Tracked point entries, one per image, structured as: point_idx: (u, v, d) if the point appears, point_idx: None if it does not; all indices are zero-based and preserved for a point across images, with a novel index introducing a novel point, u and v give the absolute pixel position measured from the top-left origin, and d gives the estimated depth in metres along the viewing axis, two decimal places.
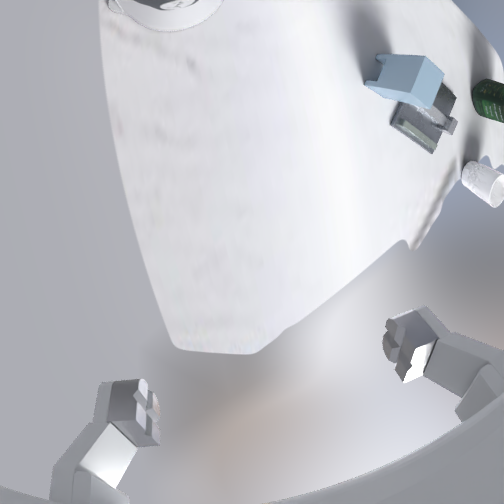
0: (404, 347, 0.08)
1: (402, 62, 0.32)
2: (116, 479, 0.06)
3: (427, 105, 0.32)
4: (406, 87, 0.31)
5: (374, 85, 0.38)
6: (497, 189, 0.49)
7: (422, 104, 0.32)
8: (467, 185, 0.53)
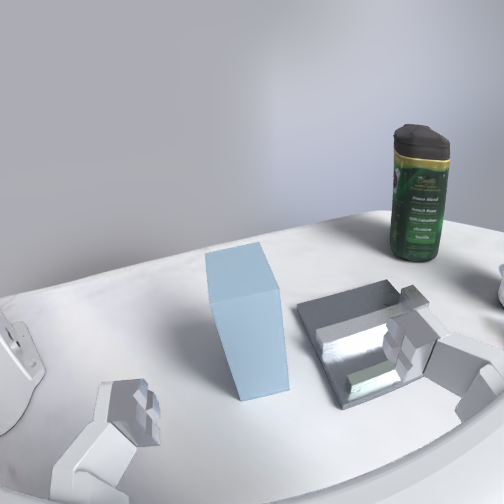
0: (404, 348, 0.08)
1: None
2: (116, 479, 0.06)
3: (266, 289, 0.19)
4: None
5: (234, 381, 0.23)
6: None
7: (261, 299, 0.19)
8: None
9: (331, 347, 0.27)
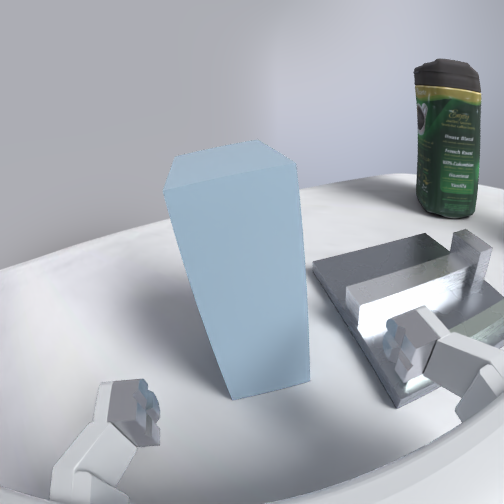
0: (404, 347, 0.08)
1: None
2: (116, 479, 0.06)
3: (271, 165, 0.10)
4: None
5: None
6: None
7: (262, 185, 0.10)
8: None
9: (371, 312, 0.17)
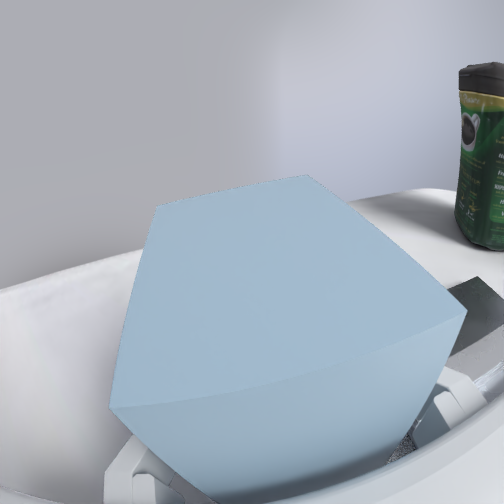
0: None
1: None
2: (168, 479, 0.06)
3: (413, 319, 0.03)
4: None
5: None
6: None
7: (384, 372, 0.03)
8: None
9: None
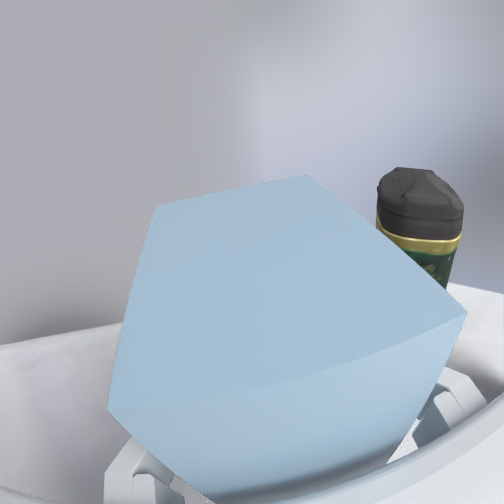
0: None
1: None
2: (168, 479, 0.06)
3: (413, 321, 0.03)
4: None
5: None
6: None
7: (384, 374, 0.03)
8: None
9: None
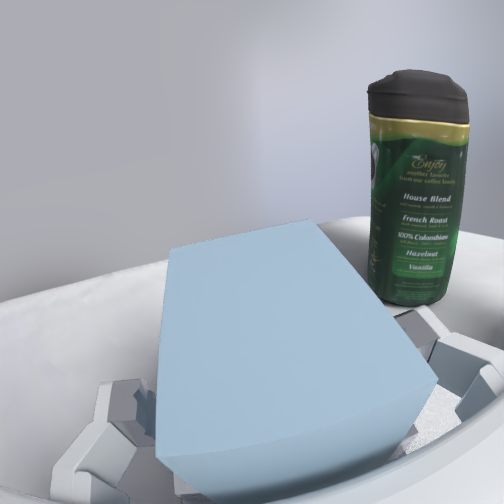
0: None
1: None
2: (116, 479, 0.06)
3: (391, 388, 0.04)
4: None
5: None
6: None
7: (366, 424, 0.04)
8: None
9: (197, 497, 0.11)
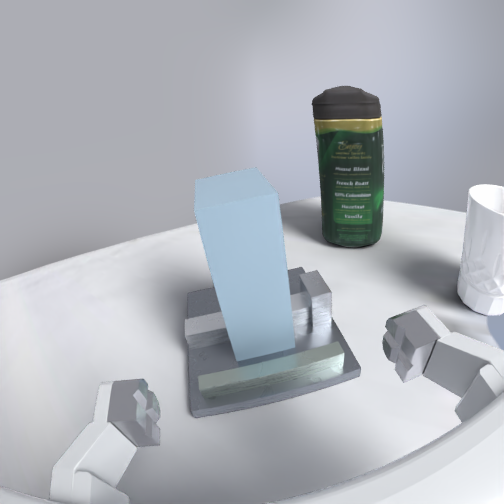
0: (404, 348, 0.08)
1: None
2: (116, 479, 0.06)
3: (262, 194, 0.16)
4: None
5: None
6: None
7: (256, 207, 0.16)
8: (501, 299, 0.19)
9: (198, 341, 0.23)
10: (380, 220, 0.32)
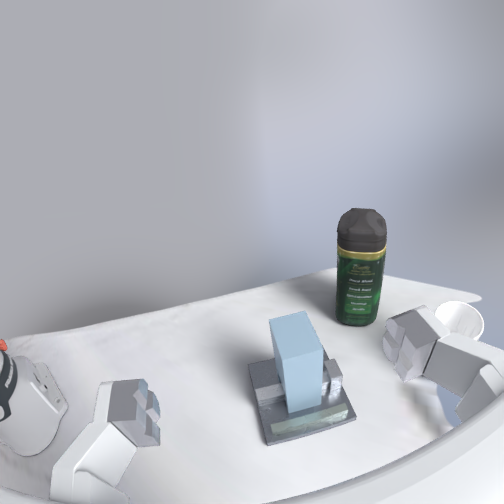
0: (404, 348, 0.08)
1: (275, 352, 0.36)
2: (116, 479, 0.06)
3: (315, 349, 0.30)
4: (281, 361, 0.31)
5: (286, 401, 0.34)
6: (467, 322, 0.34)
7: (312, 355, 0.30)
8: None
9: (265, 402, 0.37)
10: (376, 309, 0.46)
